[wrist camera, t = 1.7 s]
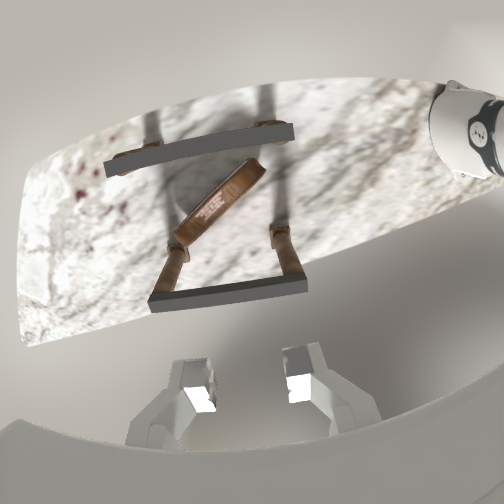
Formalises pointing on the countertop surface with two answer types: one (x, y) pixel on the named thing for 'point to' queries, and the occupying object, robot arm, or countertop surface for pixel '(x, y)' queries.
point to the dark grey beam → (228, 293)
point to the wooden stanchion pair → (181, 255)
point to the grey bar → (200, 147)
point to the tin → (219, 201)
